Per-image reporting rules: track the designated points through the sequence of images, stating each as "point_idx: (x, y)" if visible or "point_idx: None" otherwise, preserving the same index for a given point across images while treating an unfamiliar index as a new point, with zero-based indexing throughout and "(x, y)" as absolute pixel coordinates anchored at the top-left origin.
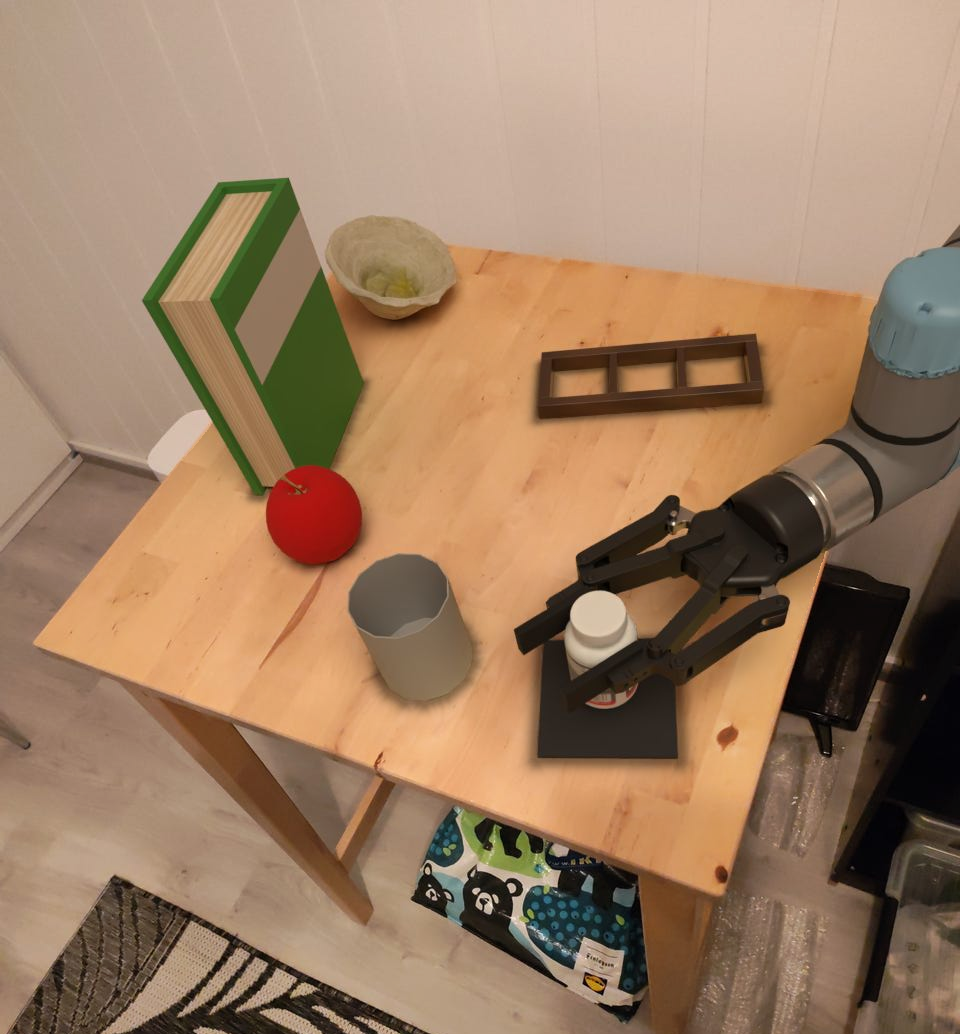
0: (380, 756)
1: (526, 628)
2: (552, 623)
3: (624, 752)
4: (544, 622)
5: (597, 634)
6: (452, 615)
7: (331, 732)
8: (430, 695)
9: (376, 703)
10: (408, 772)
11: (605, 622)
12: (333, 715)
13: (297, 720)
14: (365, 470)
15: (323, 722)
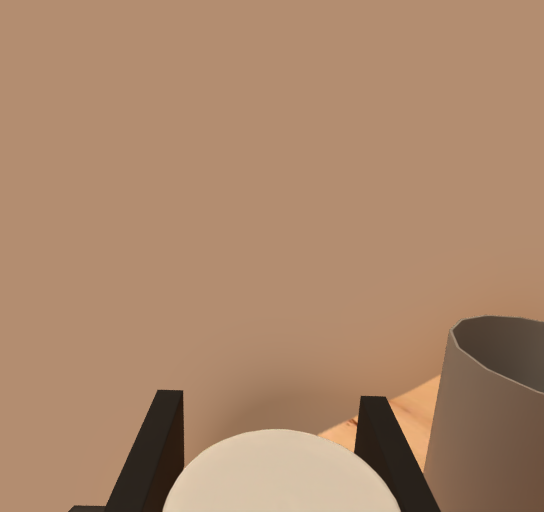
0: (356, 424)
1: (374, 411)
2: None
3: None
4: (380, 455)
5: (204, 457)
6: (515, 435)
7: (409, 403)
8: None
9: None
10: (320, 435)
11: (224, 503)
12: (431, 411)
13: (435, 389)
14: None
15: (425, 402)
